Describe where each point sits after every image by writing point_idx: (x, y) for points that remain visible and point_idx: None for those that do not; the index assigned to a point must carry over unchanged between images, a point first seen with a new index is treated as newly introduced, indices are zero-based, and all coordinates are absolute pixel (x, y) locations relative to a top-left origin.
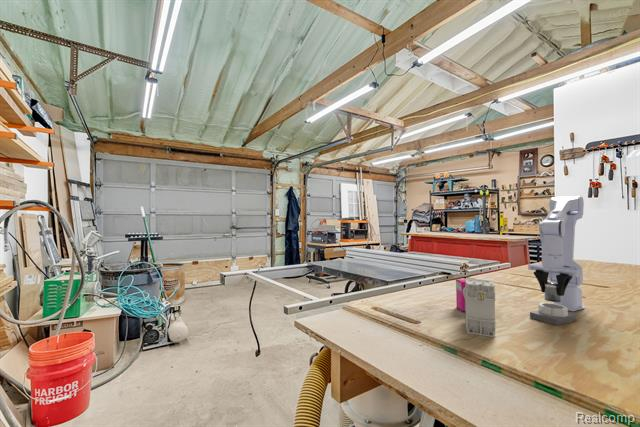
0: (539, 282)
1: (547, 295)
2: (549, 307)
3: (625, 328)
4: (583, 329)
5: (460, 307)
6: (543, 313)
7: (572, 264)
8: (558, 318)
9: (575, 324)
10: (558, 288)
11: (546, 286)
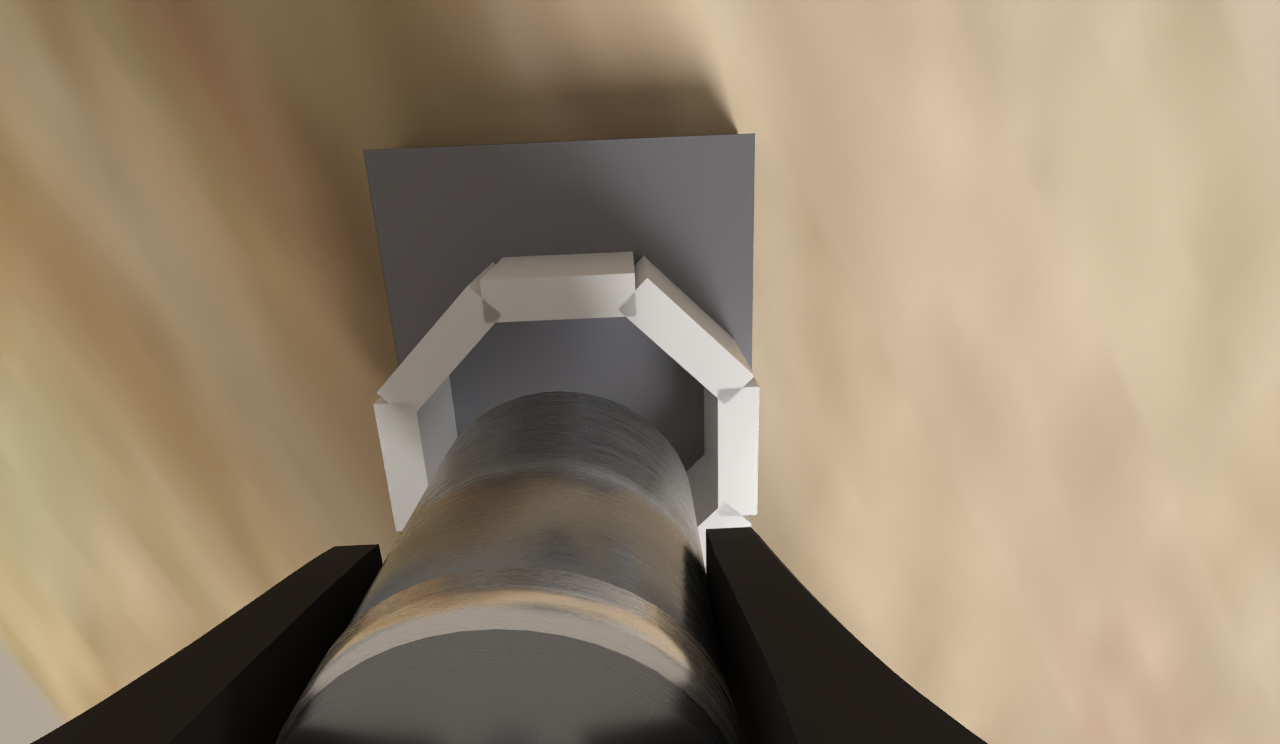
0: (871, 677)
1: (573, 437)
2: (535, 318)
3: None
4: (211, 327)
5: None
6: (614, 254)
7: None
8: (389, 230)
9: (362, 426)
10: (255, 650)
11: (587, 582)
